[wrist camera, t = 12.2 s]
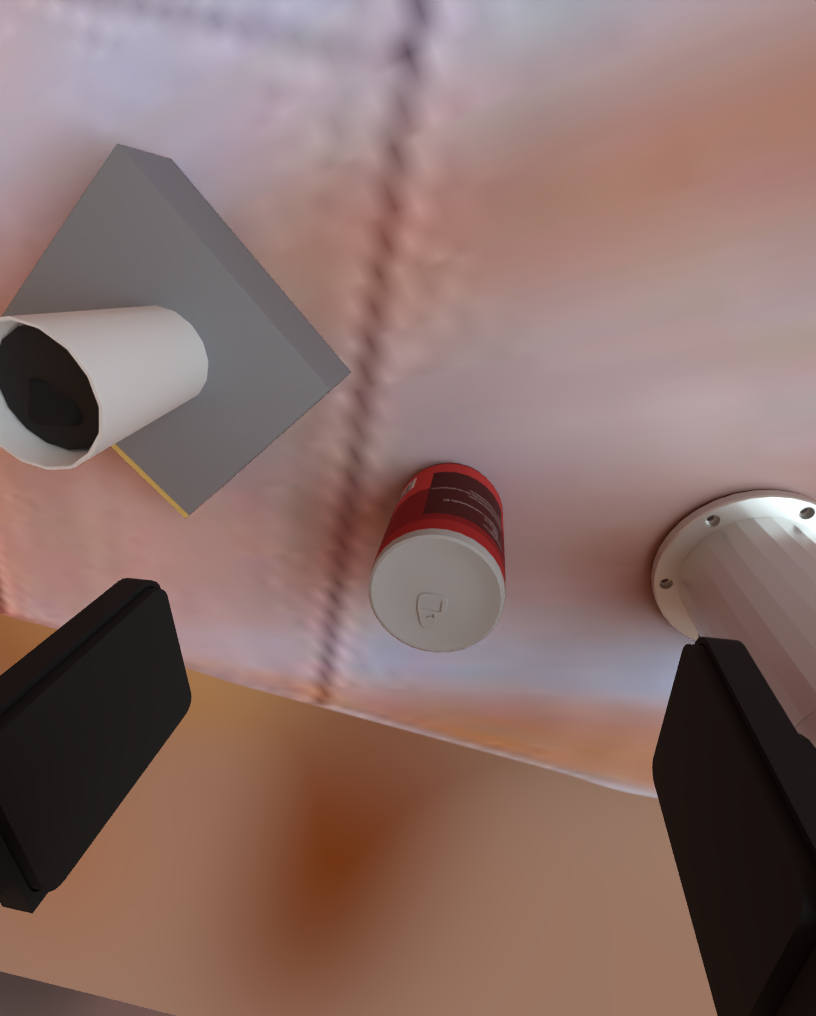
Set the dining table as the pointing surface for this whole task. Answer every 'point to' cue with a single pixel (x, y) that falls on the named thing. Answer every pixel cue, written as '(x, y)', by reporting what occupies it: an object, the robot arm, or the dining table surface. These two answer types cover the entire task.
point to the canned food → (441, 561)
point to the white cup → (92, 379)
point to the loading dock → (199, 300)
